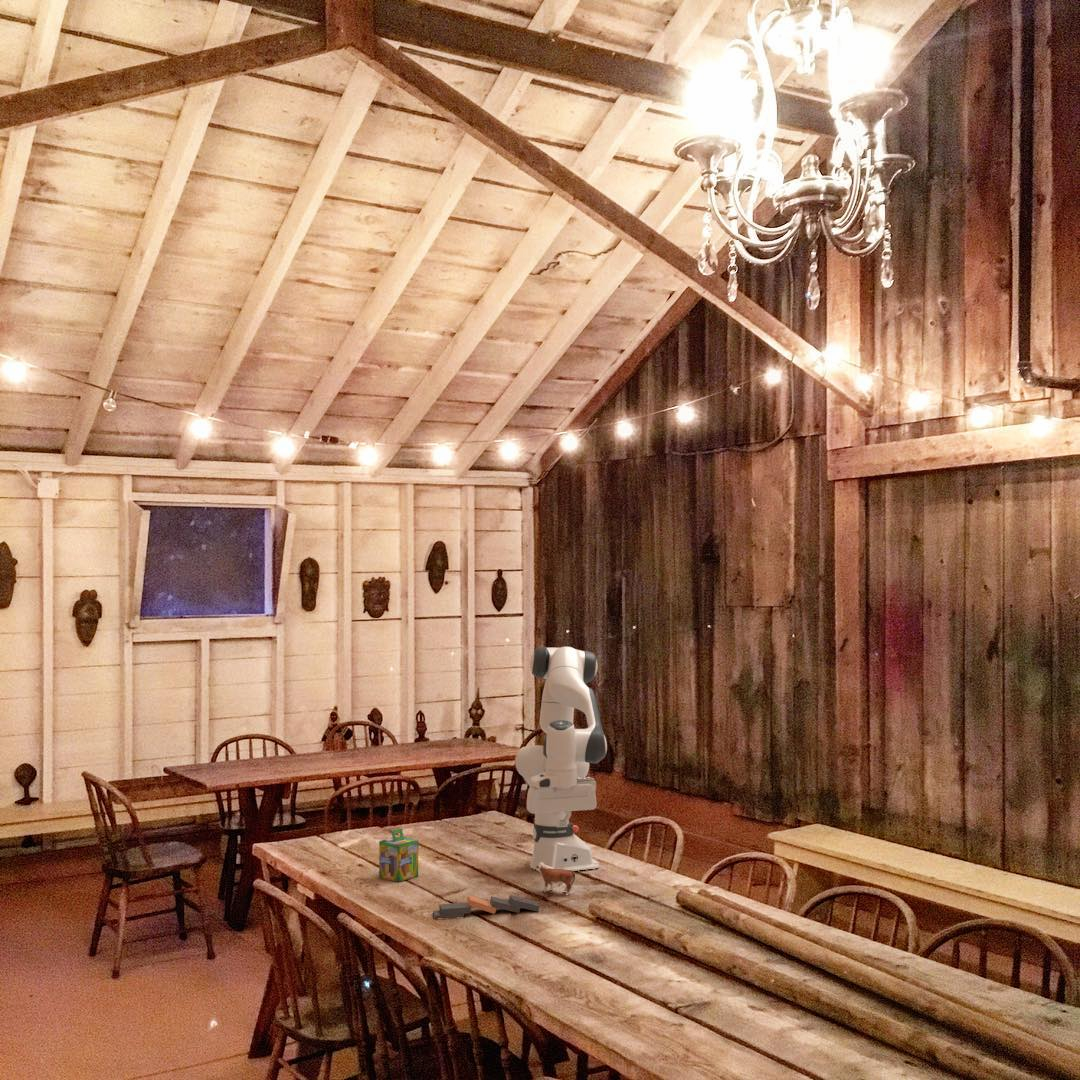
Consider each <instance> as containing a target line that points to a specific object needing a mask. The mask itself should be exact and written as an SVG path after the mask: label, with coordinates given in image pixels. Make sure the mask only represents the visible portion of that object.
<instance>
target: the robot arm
mask: <svg viewBox="0 0 1080 1080" xmlns="http://www.w3.org/2000/svg"><path fill="white" fill-rule="evenodd" d="M529 666H530V671H531V674H532V675H533V677H535V678H537V679H545V682H544V686H543V691H542V696H541V703H540V704H541V705H540V713H539V714H540V715H539V727H540V729H541V730H542V731H543V732H544V733H545V735H544V736H543V737H542V743H543V745H540V744H534V745H533V744H532V745H527V746H523V747H521V748H520V749H519V750H518V752H517V754H516V755H515V761H514V763H515V768H516V770H517V772H518V774H519V775H520V776H521V777H523V778H524V780H525V781H526V782H527V784H528V786H529V788H528V790H527V797H526V809H527V811H528V812H529V814H534V822H533V830H532V831H533V833H532V835H533V836H532V837H533V840H534V844H533V849H532V850H533V851H532V856H531V861H530V864H529V867H530V869H532V868H533V870H535V869H536V870H535V871H537V868H536V866H537V865H539V864H540V863H541V862H543V863H544V865H546V864H548V865H549V866H550V867H553V868H556V869H564V870H572V871H577V870H582V869H589V868H590V869H591V868H598V867H599V868H600V863H599V862H598V861H597V860H596V859H595V858H594V857H593V854H592V850H591V848H590V846H589V845H588V843H586V842H585V841H584V840H582V839H581V838H580V837H578V835H576V834H575V833H578V831H580V827H578V825H575V824H573V823H572V822H570V817H572V812H574V811H575V812H576V811H577V812H578V811H579V812H580V811H591V810H592V811H593V810H595V809H596V807H597V797H596V796H597V795H596V789H597V781H596V780H595V779H594V778H593V777H591V776H587V775H588V773H589V770H590V764H598V763H599V762H600V761H602V760H603V759H604V758H605V757H606V755H607V751H608V742H607V738H606V736H605V734H604V729H603V725H602V721H601V717H600V711H599V707H598V702H597V698H596V695H595V692H594V690H593V689H592V688H591V687H588V685H587V684H588V683H590V682H592V681H593V680H594V679H595V677H596V675H597V672H598V667H599V666H598V661H597V657H596V655H595V653H594V652H592V651H590V650H589V651H588V650H580V649H576V648H574V647H572V646H561V647H547V646H537V647H536V648H535V649H534V650H533V652H532V654H531V656H530V659H529ZM575 709H576V710H579V711H580V712H582V713H583V714H585V718H586V723H587V728H575V724H574V715H575ZM599 868H598V869H599Z"/></svg>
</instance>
